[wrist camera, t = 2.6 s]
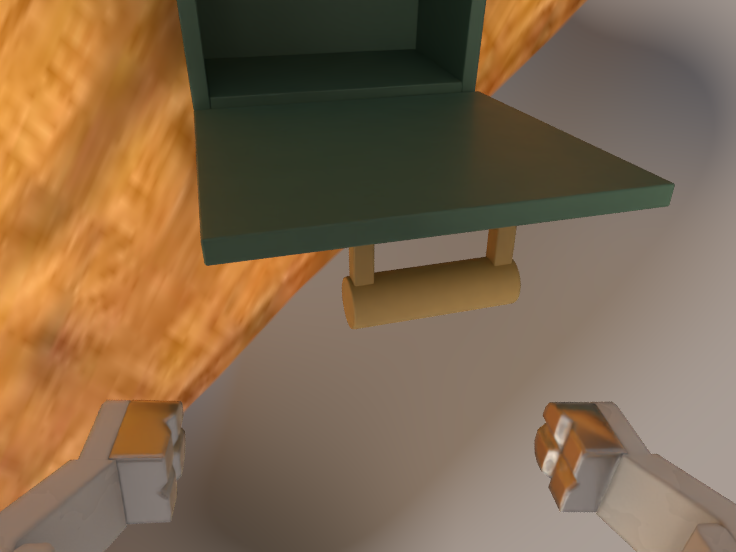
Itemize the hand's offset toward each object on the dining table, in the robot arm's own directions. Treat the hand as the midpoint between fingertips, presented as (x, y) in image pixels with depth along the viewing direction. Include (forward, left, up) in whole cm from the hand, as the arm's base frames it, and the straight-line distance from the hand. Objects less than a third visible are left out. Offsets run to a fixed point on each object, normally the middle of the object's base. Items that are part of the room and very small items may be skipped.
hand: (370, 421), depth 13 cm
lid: (-2, +4, -12) cm, 13 cm away
